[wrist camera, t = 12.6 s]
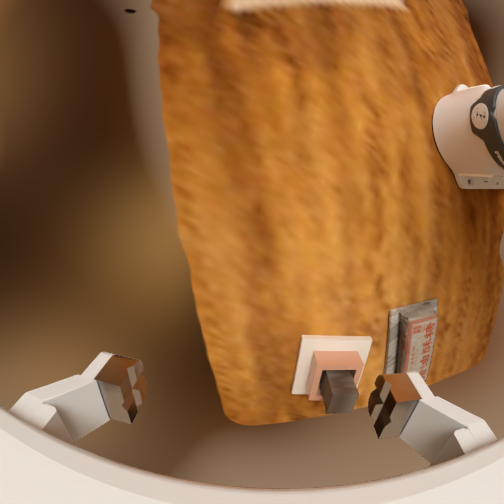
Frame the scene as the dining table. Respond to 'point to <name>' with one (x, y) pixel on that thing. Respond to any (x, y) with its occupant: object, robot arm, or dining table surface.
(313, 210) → the dining table surface
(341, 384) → the peg
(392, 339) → the packaged product
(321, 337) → the square socket base
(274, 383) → the dining table surface
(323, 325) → the dining table surface
